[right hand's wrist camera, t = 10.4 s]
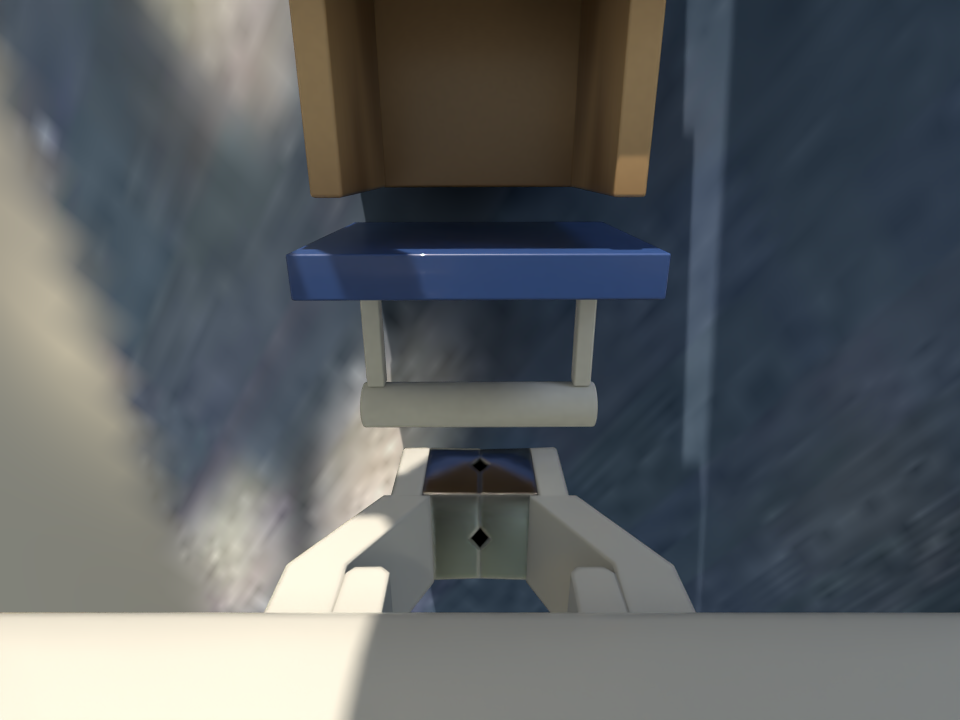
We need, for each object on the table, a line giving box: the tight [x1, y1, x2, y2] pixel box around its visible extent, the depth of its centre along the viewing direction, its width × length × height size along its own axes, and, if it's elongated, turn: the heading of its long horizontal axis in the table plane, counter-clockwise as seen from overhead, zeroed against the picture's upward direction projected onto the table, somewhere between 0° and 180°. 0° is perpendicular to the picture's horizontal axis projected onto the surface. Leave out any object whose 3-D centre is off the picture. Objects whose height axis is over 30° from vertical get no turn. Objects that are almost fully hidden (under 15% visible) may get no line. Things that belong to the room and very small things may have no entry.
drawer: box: [286, 0, 671, 427], centre depth 15 cm, size 24×10×8 cm, turn 0°
